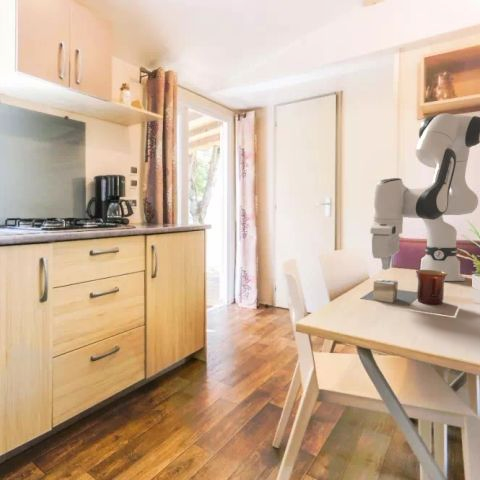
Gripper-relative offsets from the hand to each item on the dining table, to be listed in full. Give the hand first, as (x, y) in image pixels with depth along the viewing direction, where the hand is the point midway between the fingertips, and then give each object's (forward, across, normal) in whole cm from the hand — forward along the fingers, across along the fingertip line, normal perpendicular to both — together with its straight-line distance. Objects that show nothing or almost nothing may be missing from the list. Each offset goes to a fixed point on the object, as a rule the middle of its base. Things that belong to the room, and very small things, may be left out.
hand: (386, 269), depth 115 cm
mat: (+10, -5, +1) cm, 11 cm away
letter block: (+4, +2, 0) cm, 4 cm away
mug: (+10, -2, +14) cm, 17 cm away
